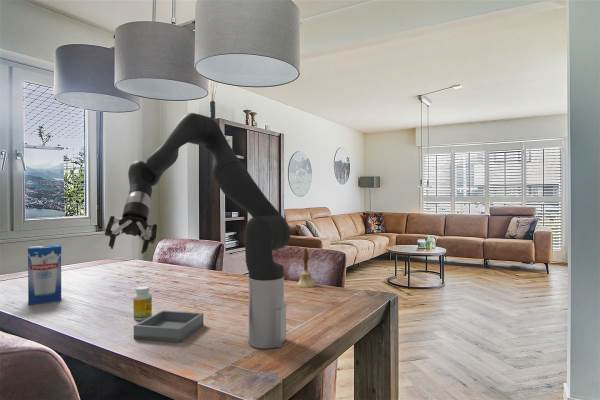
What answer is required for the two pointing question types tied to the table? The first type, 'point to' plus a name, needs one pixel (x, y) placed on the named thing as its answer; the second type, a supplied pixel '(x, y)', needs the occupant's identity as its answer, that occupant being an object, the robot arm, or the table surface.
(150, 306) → the supplement bottle
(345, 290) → the table surface
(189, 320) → the tray
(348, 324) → the table surface
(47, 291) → the milk carton
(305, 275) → the hand bell
